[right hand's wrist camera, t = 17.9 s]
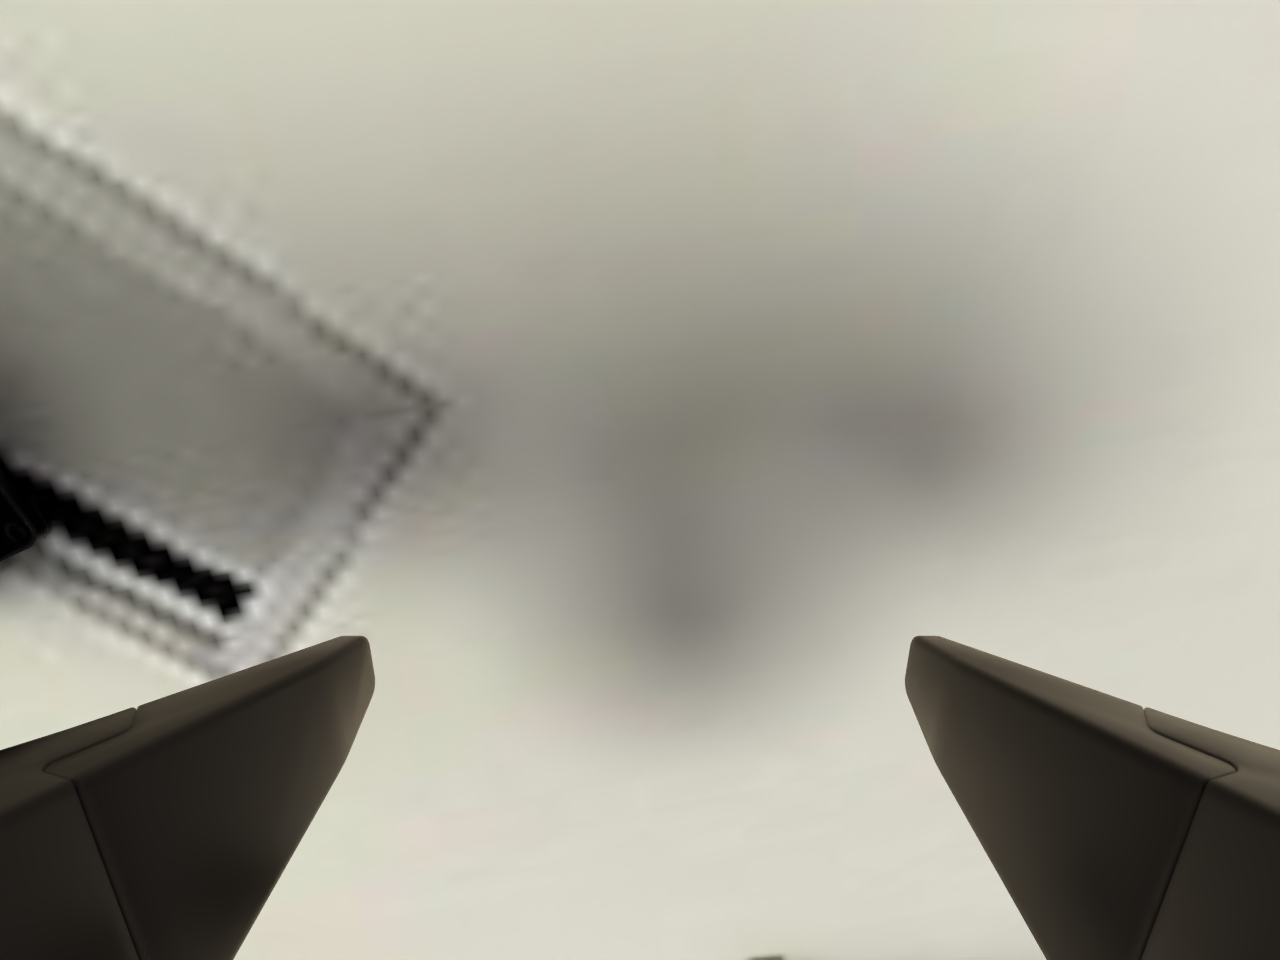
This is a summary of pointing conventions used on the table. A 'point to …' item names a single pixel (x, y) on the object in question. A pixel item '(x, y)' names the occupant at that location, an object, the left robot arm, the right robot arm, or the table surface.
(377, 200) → the table surface
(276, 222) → the table surface
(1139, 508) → the table surface
